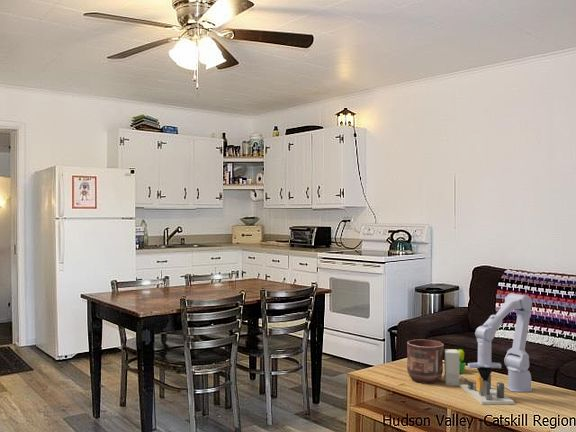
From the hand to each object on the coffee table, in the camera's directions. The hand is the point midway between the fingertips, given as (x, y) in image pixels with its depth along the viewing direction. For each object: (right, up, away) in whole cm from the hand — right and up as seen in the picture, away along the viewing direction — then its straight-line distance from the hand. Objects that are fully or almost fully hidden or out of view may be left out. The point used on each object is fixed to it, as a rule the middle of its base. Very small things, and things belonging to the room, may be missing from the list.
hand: (484, 384), depth 240 cm
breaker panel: (+1, -5, 0) cm, 5 cm away
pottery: (-21, -5, +23) cm, 31 cm away
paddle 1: (-3, -3, +7) cm, 8 cm away
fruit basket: (-1, -6, +39) cm, 39 cm away
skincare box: (-9, -5, +17) cm, 20 cm away
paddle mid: (-2, -3, 0) cm, 4 cm away
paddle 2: (-2, -3, -7) cm, 8 cm away
